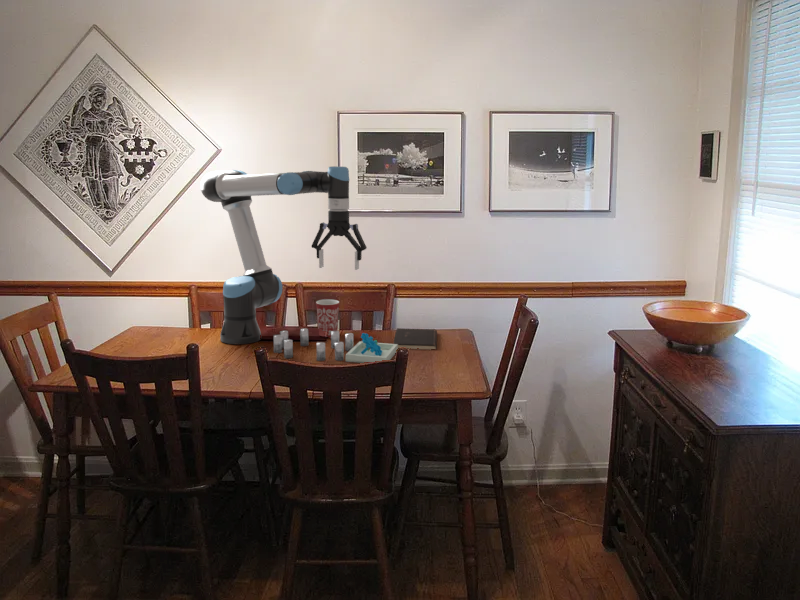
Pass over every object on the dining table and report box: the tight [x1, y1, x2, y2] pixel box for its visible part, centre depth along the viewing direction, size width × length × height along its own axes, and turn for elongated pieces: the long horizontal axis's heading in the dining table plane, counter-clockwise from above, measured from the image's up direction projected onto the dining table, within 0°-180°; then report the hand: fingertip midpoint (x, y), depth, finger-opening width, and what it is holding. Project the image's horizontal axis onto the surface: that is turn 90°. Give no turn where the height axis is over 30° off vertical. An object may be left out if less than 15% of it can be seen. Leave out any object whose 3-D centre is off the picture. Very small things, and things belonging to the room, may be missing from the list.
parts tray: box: [345, 340, 399, 364], centre depth 255 cm, size 14×17×2 cm
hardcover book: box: [392, 327, 438, 350], centre depth 276 cm, size 16×23×2 cm
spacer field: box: [272, 327, 354, 362], centre depth 259 cm, size 27×19×6 cm
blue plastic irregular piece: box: [360, 332, 382, 356], centre depth 255 cm, size 11×6×10 cm
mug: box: [315, 298, 340, 339], centre depth 282 cm, size 13×9×14 cm
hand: (339, 268), depth 264 cm, fingers open, 13 cm apart
